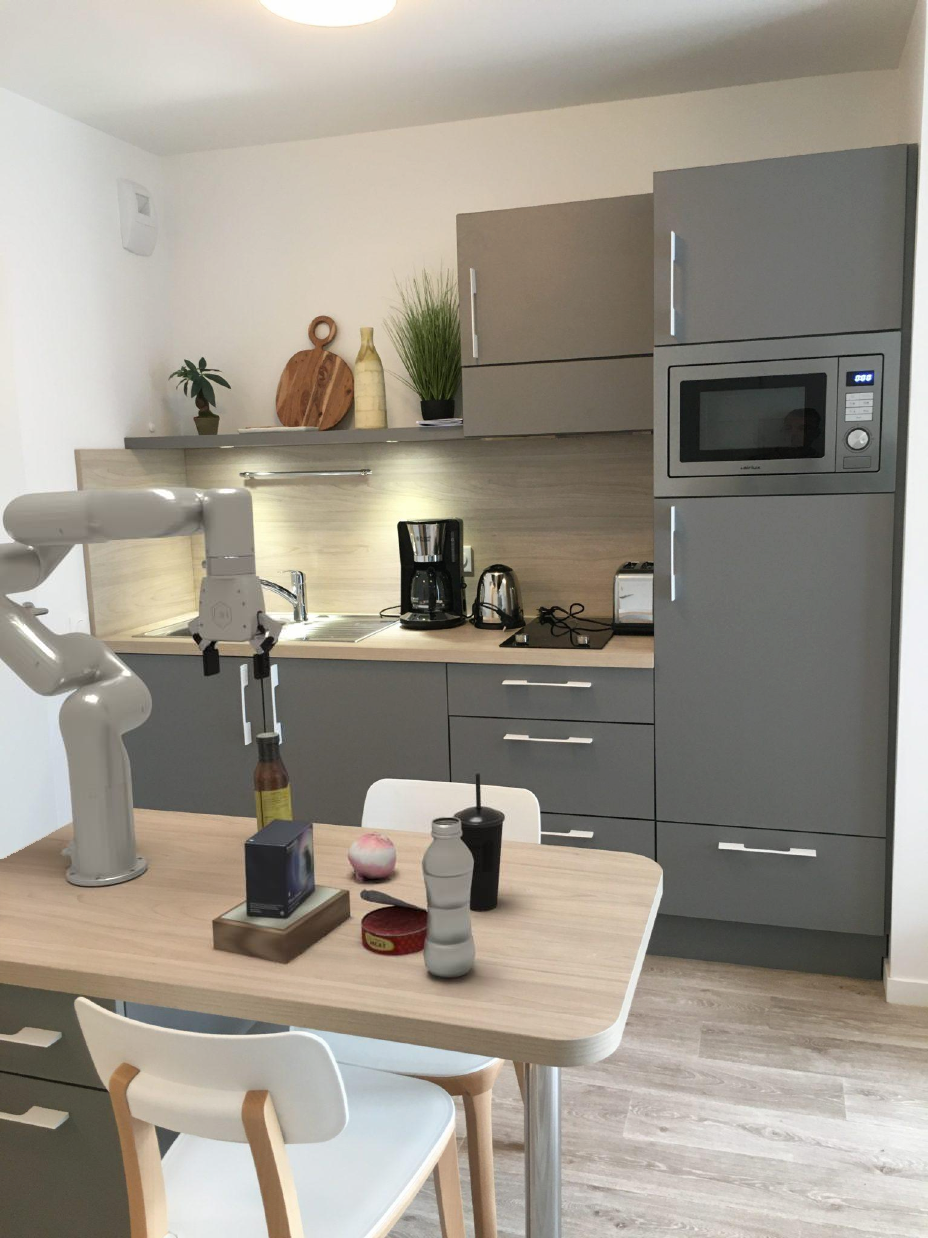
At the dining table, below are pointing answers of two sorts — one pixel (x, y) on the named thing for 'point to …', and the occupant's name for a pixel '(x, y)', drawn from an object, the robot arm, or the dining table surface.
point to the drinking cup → (483, 850)
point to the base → (282, 926)
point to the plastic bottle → (448, 901)
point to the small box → (279, 868)
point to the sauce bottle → (271, 782)
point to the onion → (372, 857)
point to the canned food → (393, 926)
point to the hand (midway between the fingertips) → (236, 676)
